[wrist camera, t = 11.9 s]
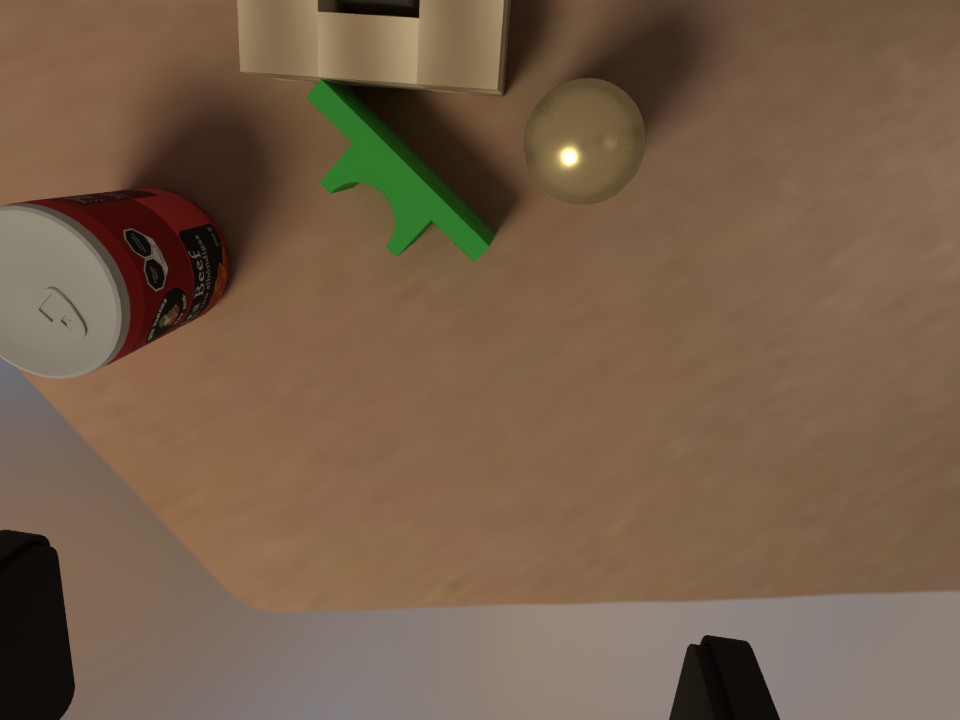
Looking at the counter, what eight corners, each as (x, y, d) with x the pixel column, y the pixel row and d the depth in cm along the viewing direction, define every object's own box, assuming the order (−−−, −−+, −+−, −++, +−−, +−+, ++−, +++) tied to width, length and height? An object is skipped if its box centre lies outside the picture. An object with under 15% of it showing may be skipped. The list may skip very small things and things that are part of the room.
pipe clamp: (304, 138, 37) (271, 137, 32) (347, 85, 36) (319, 77, 31) (451, 280, 38) (438, 298, 34) (496, 234, 37) (489, 246, 33)
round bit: (630, 95, 34) (654, 82, 27) (616, 194, 36) (636, 209, 28) (533, 88, 34) (529, 73, 27) (524, 187, 36) (519, 199, 28)
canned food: (205, 341, 41) (89, 410, 30) (88, 273, 40) (-73, 320, 30) (256, 234, 38) (148, 269, 28) (131, 160, 38) (-27, 168, 27)
